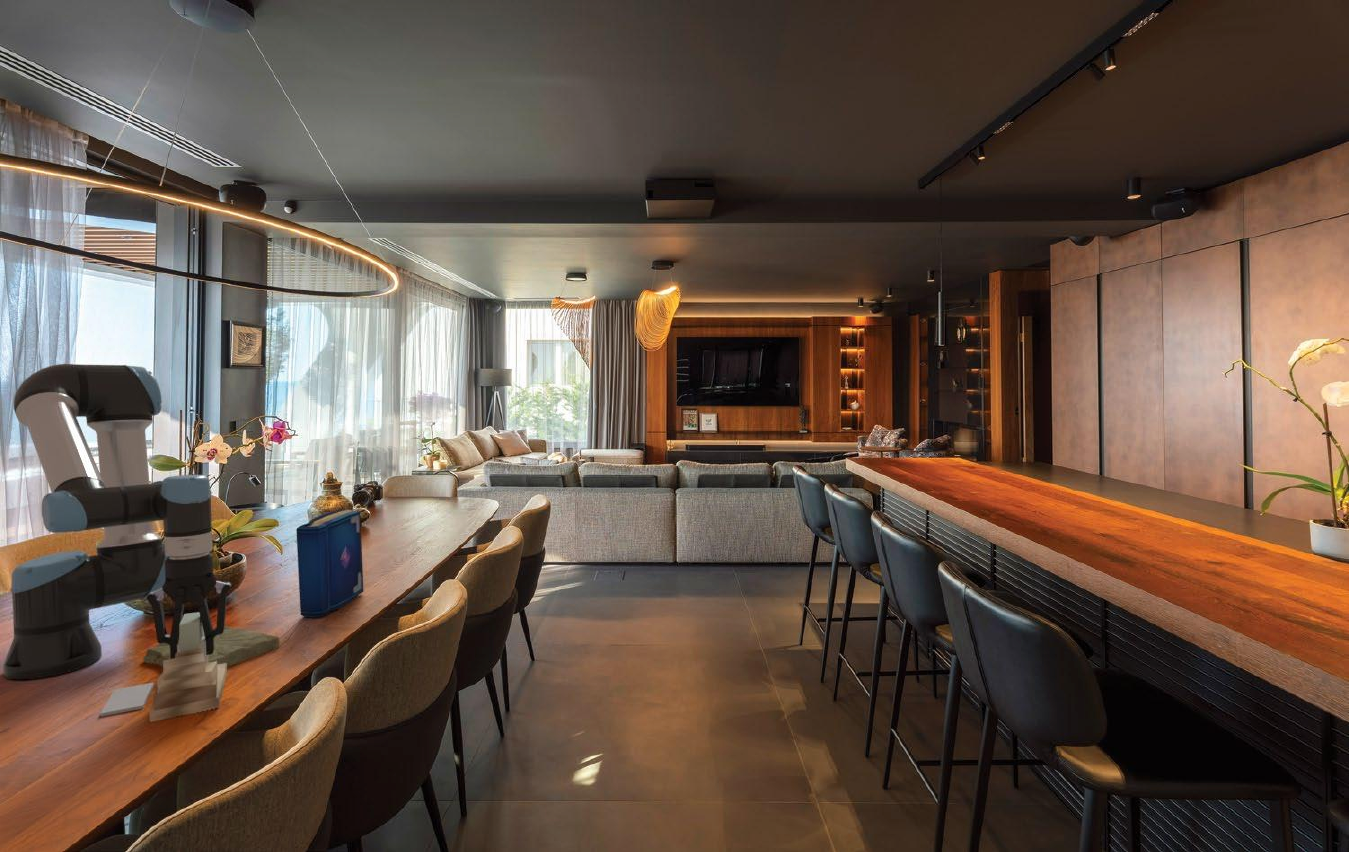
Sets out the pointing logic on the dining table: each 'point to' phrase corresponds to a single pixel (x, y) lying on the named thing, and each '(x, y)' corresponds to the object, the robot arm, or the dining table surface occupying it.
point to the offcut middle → (189, 679)
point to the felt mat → (127, 699)
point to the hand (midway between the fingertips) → (193, 672)
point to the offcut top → (183, 666)
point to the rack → (194, 706)
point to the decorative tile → (224, 647)
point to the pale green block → (190, 632)
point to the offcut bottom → (184, 696)
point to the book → (329, 562)
